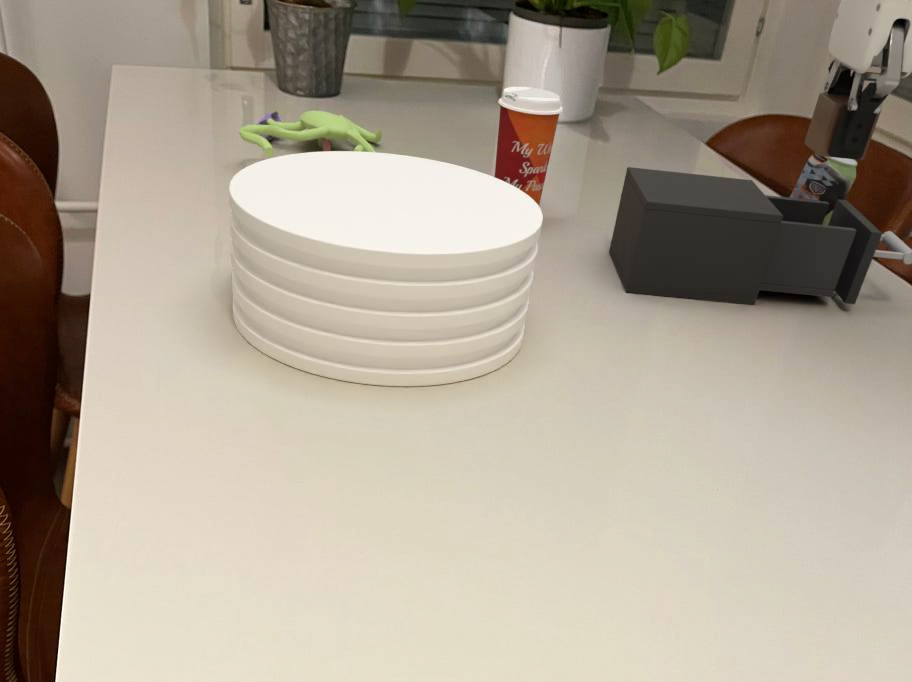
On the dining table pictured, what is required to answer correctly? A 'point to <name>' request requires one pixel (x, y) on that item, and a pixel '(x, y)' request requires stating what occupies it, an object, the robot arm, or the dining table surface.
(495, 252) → the plate stack
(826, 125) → the block
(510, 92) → the paper cup
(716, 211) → the dark grey box
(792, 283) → the dark grey panel
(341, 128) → the figurine
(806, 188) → the beverage can
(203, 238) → the dining table surface
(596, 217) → the dining table surface
